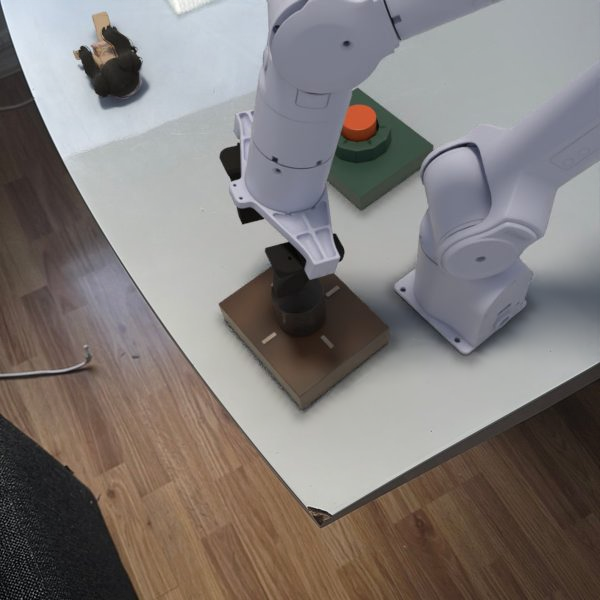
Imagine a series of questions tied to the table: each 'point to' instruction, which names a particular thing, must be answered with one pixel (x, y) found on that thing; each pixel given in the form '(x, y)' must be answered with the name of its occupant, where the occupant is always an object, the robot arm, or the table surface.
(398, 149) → the button box
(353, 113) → the button
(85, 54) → the toy figure
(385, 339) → the panel
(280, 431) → the table surface
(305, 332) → the knob
